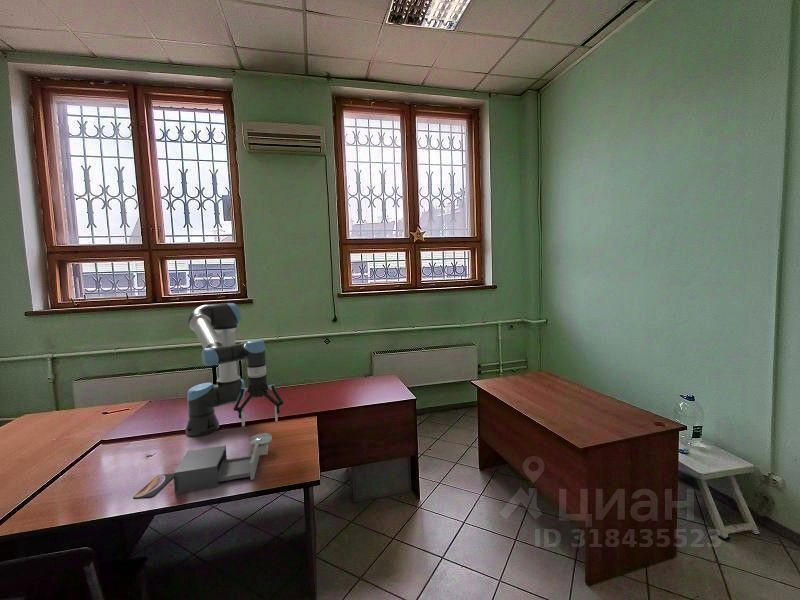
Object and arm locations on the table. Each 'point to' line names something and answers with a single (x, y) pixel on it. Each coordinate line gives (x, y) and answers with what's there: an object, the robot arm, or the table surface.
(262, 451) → the pedestal
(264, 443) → the disc
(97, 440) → the table surface
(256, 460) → the tray
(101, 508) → the table surface
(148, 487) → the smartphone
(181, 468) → the housing
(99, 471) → the table surface
